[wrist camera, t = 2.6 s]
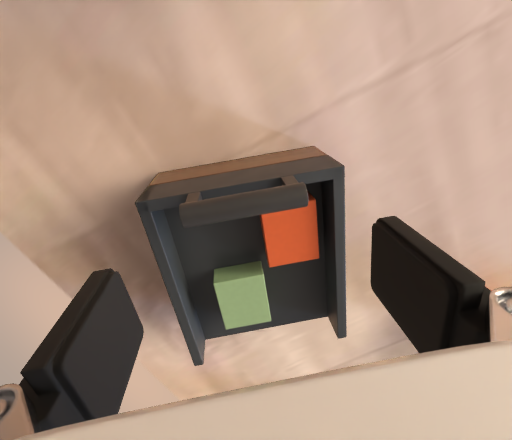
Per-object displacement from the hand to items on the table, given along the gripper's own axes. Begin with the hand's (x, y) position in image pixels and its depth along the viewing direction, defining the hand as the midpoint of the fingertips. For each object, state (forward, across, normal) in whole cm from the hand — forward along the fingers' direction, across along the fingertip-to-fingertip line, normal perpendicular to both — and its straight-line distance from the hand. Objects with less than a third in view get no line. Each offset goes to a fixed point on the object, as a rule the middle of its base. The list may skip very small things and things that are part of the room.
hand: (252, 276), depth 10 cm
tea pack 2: (+12, -3, +4) cm, 13 cm away
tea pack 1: (+12, +1, +10) cm, 15 cm away
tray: (+12, 0, +7) cm, 14 cm away
